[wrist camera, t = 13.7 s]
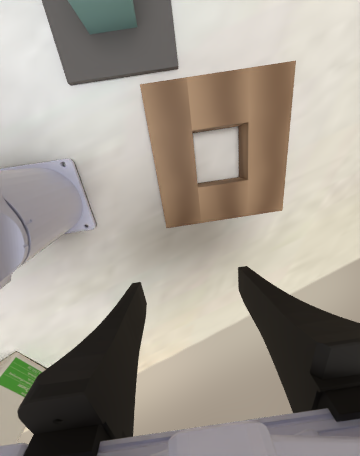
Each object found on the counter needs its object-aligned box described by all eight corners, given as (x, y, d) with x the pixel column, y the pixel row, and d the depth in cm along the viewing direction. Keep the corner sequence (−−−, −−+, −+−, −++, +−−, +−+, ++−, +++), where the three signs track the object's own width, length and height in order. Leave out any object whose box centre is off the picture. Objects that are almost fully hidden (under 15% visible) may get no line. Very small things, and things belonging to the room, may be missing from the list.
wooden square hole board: (166, 220, 22) (166, 228, 20) (143, 94, 17) (140, 84, 15) (270, 204, 22) (282, 210, 20) (278, 73, 17) (295, 60, 15)
